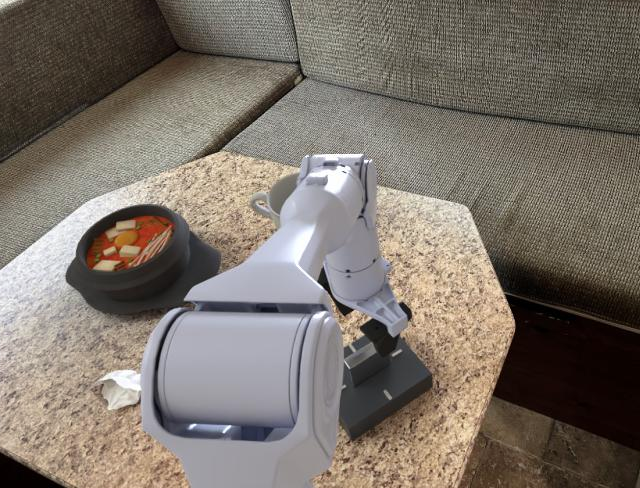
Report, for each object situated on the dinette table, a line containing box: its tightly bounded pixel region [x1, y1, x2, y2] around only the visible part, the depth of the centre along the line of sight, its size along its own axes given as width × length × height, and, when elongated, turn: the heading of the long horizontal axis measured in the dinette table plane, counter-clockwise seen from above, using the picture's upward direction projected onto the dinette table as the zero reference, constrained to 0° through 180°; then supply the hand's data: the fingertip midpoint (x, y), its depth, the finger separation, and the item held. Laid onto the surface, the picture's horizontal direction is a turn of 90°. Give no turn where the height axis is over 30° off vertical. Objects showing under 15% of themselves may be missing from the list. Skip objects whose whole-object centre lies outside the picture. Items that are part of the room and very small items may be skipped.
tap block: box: [338, 334, 434, 442], centre depth 76 cm, size 12×10×3 cm
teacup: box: [249, 171, 300, 231], centre depth 98 cm, size 14×11×8 cm
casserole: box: [64, 203, 222, 315], centre depth 93 cm, size 25×19×8 cm
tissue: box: [83, 369, 141, 411], centre depth 78 cm, size 6×8×4 cm
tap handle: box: [344, 342, 391, 387], centre depth 74 cm, size 6×2×4 cm, turn 124°
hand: (368, 330), depth 71 cm, fingers open, 7 cm apart
